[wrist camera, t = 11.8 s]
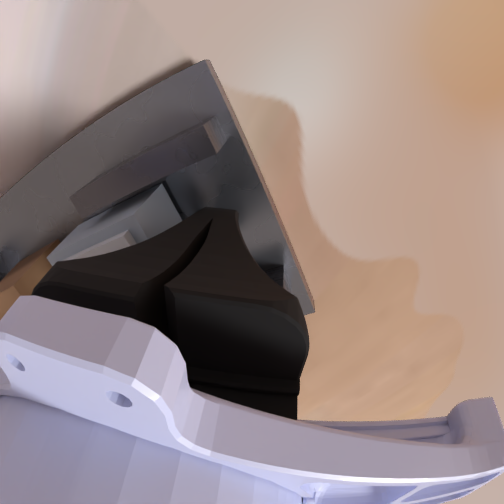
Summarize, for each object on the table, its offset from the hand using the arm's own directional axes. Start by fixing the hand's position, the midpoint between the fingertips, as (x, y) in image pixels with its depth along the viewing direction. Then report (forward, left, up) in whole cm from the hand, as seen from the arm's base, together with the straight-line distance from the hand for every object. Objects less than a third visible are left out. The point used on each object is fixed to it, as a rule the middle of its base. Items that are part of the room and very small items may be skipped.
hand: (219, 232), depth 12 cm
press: (0, -8, -2) cm, 8 cm away
